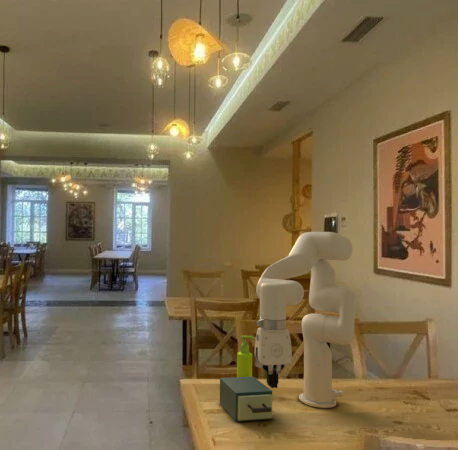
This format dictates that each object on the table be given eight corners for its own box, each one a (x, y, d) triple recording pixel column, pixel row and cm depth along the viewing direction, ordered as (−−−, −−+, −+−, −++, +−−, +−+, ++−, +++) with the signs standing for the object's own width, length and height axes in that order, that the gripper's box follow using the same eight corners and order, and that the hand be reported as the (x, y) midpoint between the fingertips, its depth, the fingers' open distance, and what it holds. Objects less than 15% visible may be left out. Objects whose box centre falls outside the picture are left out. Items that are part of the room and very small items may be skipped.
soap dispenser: (254, 390, 160) (255, 338, 161) (236, 388, 162) (237, 337, 162) (254, 385, 166) (254, 334, 167) (236, 383, 167) (237, 333, 168)
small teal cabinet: (272, 419, 134) (272, 391, 135) (235, 421, 132) (236, 393, 132) (252, 401, 149) (253, 376, 149) (219, 403, 146) (220, 377, 146)
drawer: (279, 424, 128) (279, 400, 129) (244, 427, 126) (245, 403, 126) (254, 401, 146) (254, 381, 147) (223, 403, 144) (223, 382, 144)
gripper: (254, 327, 118) (254, 392, 117) (302, 326, 121) (302, 389, 120) (244, 322, 125) (243, 383, 125) (289, 320, 128) (289, 380, 127)
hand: (272, 386), depth 122 cm, fingers closed
